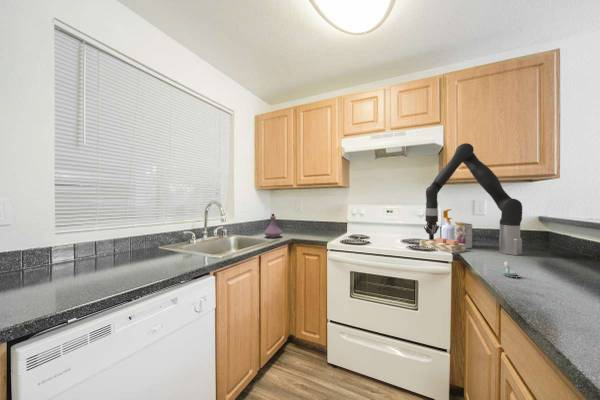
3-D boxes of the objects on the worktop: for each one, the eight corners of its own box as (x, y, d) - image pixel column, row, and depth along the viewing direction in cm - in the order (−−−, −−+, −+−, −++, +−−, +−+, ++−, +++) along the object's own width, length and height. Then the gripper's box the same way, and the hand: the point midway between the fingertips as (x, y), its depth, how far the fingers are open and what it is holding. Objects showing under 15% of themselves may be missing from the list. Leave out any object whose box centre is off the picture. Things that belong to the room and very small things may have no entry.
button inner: (458, 245, 143) (458, 240, 143) (453, 246, 141) (453, 241, 141) (450, 244, 147) (450, 239, 147) (446, 244, 145) (446, 240, 145)
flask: (286, 236, 197) (286, 213, 197) (274, 239, 183) (274, 215, 183) (271, 234, 206) (271, 213, 205) (259, 237, 192) (259, 214, 191)
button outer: (437, 244, 156) (437, 239, 156) (432, 244, 154) (432, 240, 154) (430, 243, 160) (430, 238, 160) (426, 243, 158) (426, 239, 158)
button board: (465, 250, 143) (465, 243, 143) (451, 252, 138) (451, 245, 138) (432, 244, 163) (433, 238, 163) (419, 245, 158) (419, 239, 158)
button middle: (447, 243, 149) (447, 238, 149) (442, 243, 147) (442, 239, 147) (440, 242, 154) (440, 237, 154) (435, 242, 152) (435, 238, 152)
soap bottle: (448, 241, 173) (449, 209, 172) (438, 239, 181) (438, 209, 181) (458, 241, 175) (458, 209, 175) (447, 238, 184) (447, 208, 183)
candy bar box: (453, 244, 161) (454, 222, 161) (460, 244, 161) (461, 222, 160) (465, 248, 150) (465, 223, 149) (472, 248, 150) (472, 223, 149)
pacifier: (518, 275, 99) (500, 272, 102) (519, 261, 99) (501, 258, 102) (521, 280, 93) (502, 277, 97) (522, 265, 93) (503, 262, 96)
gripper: (430, 215, 151) (430, 241, 151) (443, 214, 156) (443, 239, 156) (420, 214, 157) (420, 239, 158) (433, 214, 163) (432, 238, 163)
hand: (431, 239), depth 157 cm, fingers closed
